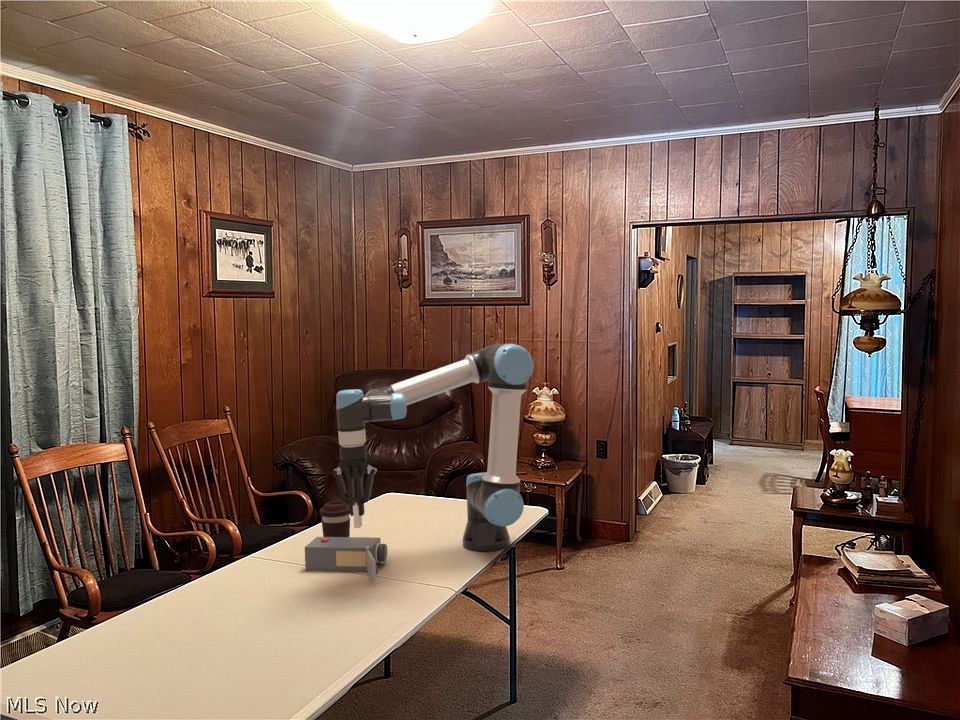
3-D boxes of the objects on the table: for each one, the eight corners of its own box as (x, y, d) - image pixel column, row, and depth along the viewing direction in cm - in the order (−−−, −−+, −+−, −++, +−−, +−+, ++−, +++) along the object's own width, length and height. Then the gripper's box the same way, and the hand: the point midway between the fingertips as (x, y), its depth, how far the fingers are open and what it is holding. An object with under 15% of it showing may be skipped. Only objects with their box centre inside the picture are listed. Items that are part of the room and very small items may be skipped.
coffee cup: (356, 545, 233) (354, 499, 233) (347, 555, 224) (346, 507, 223) (326, 544, 234) (325, 499, 234) (316, 554, 225) (315, 507, 224)
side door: (367, 570, 207) (366, 550, 207) (371, 569, 207) (371, 549, 207) (373, 582, 198) (372, 560, 197) (378, 581, 198) (377, 560, 198)
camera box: (388, 560, 217) (387, 535, 217) (378, 573, 206) (377, 546, 206) (317, 559, 221) (316, 534, 220) (304, 571, 210) (303, 545, 209)
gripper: (378, 441, 205) (384, 522, 207) (334, 442, 207) (340, 523, 209) (371, 446, 198) (376, 530, 199) (325, 447, 200) (331, 531, 201)
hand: (358, 526), depth 204 cm, fingers closed
